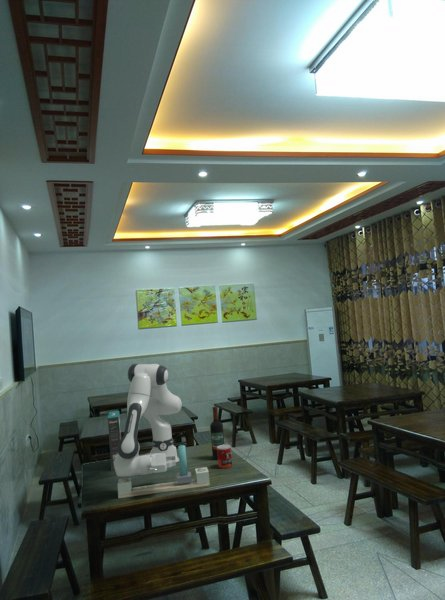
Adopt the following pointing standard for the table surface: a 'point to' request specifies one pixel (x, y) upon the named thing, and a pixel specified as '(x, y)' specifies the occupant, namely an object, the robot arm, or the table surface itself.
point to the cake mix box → (114, 434)
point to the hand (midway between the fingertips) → (175, 460)
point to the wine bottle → (216, 433)
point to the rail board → (162, 485)
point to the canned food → (224, 456)
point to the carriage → (183, 467)
